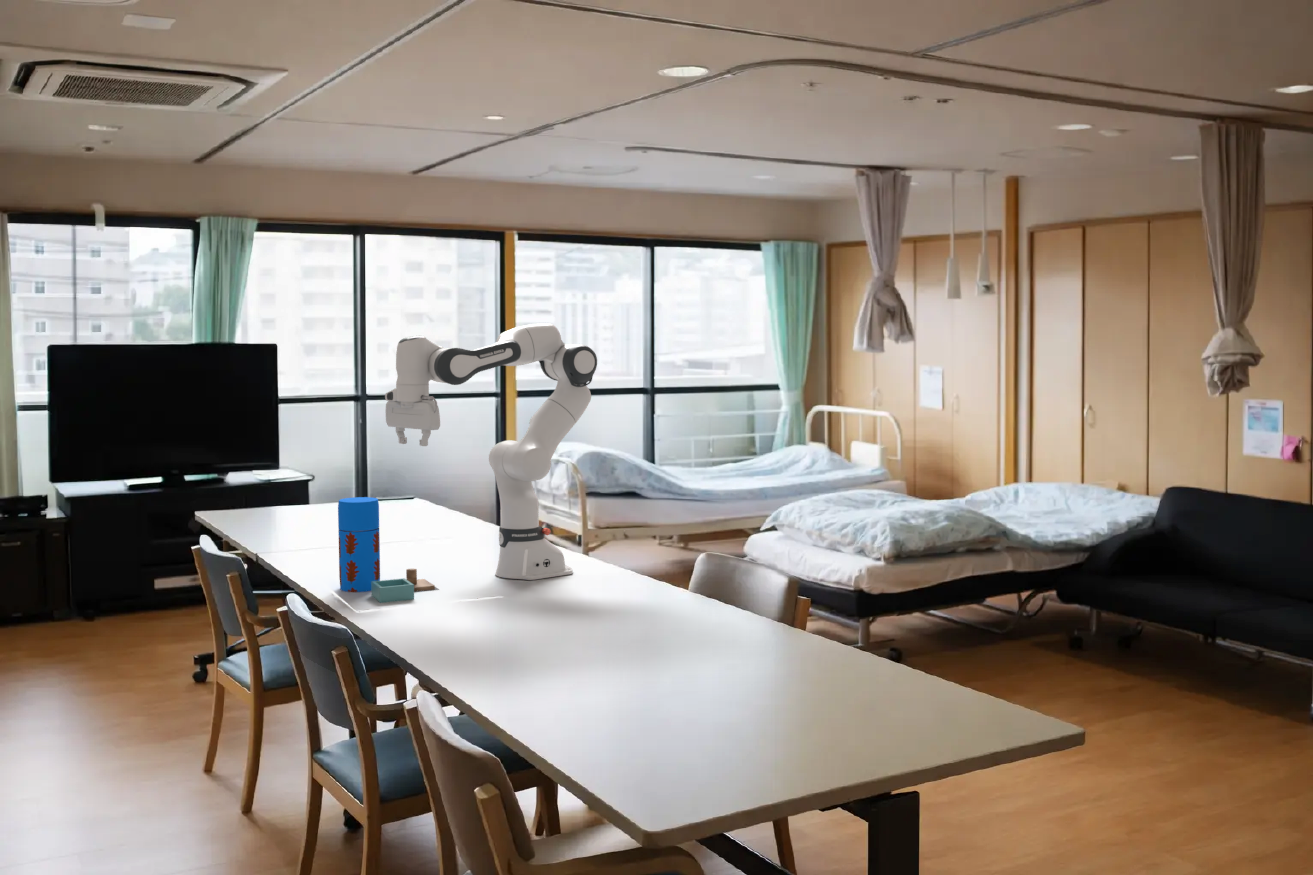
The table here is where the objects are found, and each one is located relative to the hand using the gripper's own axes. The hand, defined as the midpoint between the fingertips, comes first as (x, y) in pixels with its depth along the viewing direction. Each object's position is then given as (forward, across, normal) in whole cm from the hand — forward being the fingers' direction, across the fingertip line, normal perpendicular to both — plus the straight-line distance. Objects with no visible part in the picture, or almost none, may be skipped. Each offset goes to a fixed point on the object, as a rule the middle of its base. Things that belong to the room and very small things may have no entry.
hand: (413, 444), depth 331 cm
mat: (+40, -4, +4) cm, 40 cm away
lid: (+39, -4, +4) cm, 39 cm away
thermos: (+40, +6, +14) cm, 43 cm away
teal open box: (+40, -10, +15) cm, 43 cm away
